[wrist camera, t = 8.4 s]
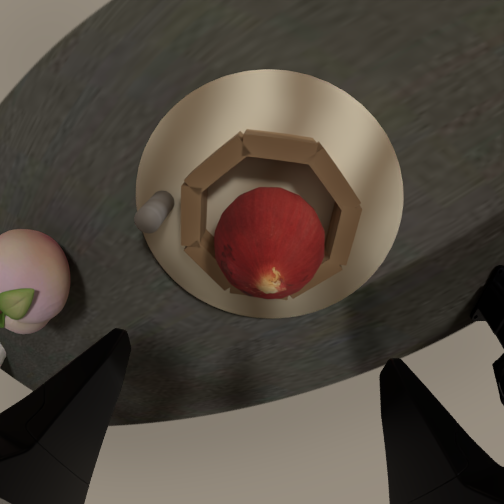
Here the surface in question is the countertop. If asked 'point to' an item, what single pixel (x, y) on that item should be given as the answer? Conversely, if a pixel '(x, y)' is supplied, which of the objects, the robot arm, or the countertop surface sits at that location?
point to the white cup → (2, 354)
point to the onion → (269, 243)
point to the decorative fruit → (31, 280)
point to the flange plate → (269, 182)
